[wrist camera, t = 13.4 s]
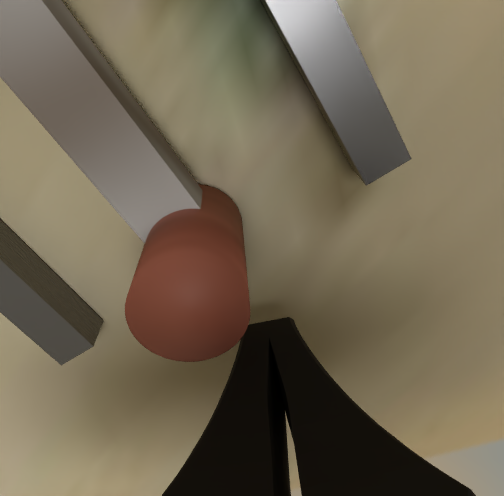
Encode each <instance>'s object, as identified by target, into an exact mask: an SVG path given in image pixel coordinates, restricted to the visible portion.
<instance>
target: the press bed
mask: <svg viewBox="0 0 504 496" xmlns="http://www.w3.org/2000/svg"><path fill="white" fill-rule="evenodd" d="M0 77H1V78H2V79H3V81H4V82H5V83H6V84H7V85H8V86H9V87H10V89H11V90H12V91H13V92H14V93H15V94H16V96H17V97H18V98H19V99H20V100H21V101H22V102H23V104H24V105H25V106H26V107H27V108H28V109H29V111H30V112H31V113H32V114H33V115H34V116H35V117H36V119H37V120H38V121H39V122H40V123H41V124H42V126H43V127H44V128H45V129H46V130H47V131H48V132H49V134H50V135H51V136H52V137H53V138H54V139H55V141H56V142H57V143H58V144H59V145H60V146H61V147H62V149H63V150H64V151H65V152H66V153H67V154H68V156H69V157H70V158H71V159H72V160H73V161H74V163H75V164H76V165H77V166H78V167H79V168H80V169H81V171H82V172H83V173H84V174H85V175H86V176H87V178H88V179H89V180H90V181H91V182H92V183H93V184H94V186H95V187H96V188H97V189H98V190H99V191H100V193H101V194H102V195H103V196H104V197H105V198H106V199H107V201H108V202H109V203H110V204H111V205H112V206H113V208H114V209H115V210H116V211H117V212H118V213H119V214H120V216H121V217H122V218H123V219H124V220H125V221H126V223H127V224H128V225H129V226H130V227H131V228H132V229H133V231H134V232H135V233H136V234H137V235H138V236H139V238H140V239H141V240H142V241H143V242H144V243H145V245H144V248H143V251H142V254H141V257H140V260H139V263H138V266H137V268H136V271H135V274H134V277H133V280H132V283H131V286H130V289H129V292H128V295H127V298H126V303H125V316H126V321H127V324H128V326H129V329H130V331H131V332H132V334H133V335H134V337H135V338H136V339H137V340H138V341H139V343H141V344H142V345H143V346H144V347H145V348H147V349H148V350H150V351H151V352H153V353H155V354H157V355H159V356H162V357H164V358H167V359H171V360H176V361H184V362H195V361H203V360H207V359H211V358H214V357H217V356H219V355H221V354H223V353H225V352H226V351H228V350H230V349H231V348H232V347H233V346H235V345H236V344H237V343H238V341H239V340H240V339H241V338H242V336H243V335H244V333H245V331H246V329H247V327H248V324H249V320H250V301H249V290H248V280H247V269H246V258H245V248H244V237H243V226H242V218H241V215H240V212H239V210H238V208H237V206H236V204H235V203H234V202H233V201H232V199H231V198H229V197H228V196H227V195H226V194H225V193H223V192H222V191H220V190H218V189H215V188H213V187H210V186H206V185H198V184H197V182H196V181H195V180H194V178H193V177H192V176H191V174H190V173H189V171H188V170H187V169H186V167H185V166H184V165H183V163H182V162H181V161H180V159H179V158H178V157H177V155H176V154H175V153H174V151H173V150H172V149H171V147H170V146H169V145H168V143H167V142H166V140H165V139H164V138H163V136H162V135H161V134H160V132H159V131H158V130H157V128H156V127H155V126H154V124H153V123H152V122H151V120H150V119H149V118H148V116H147V115H146V114H145V112H144V111H143V109H142V108H141V107H140V105H139V104H138V103H137V101H136V100H135V99H134V97H133V96H132V95H131V93H130V92H129V91H128V89H127V88H126V87H125V85H124V84H123V83H122V81H121V80H120V78H119V77H118V76H117V74H116V73H115V72H114V70H113V69H112V68H111V66H110V65H109V64H108V62H107V61H106V60H105V58H104V57H103V56H102V54H101V53H100V52H99V50H98V49H97V47H96V46H95V45H94V43H93V42H92V41H91V39H90V38H89V37H88V35H87V34H86V33H85V31H84V30H83V29H82V27H81V26H80V25H79V23H78V22H77V20H76V19H75V18H74V16H73V15H72V14H71V12H70V11H69V10H68V8H67V7H66V6H65V4H64V3H63V2H62V0H0Z"/></svg>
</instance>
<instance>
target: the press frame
mask: <svg viewBox="0 0 504 496" xmlns="http://www.w3.org/2000/svg"><path fill="white" fill-rule="evenodd" d="M260 1H261V3H262V4H263V6H264V8H265V10H266V12H267V14H268V15H269V17H270V19H271V21H272V23H273V25H274V26H275V28H276V30H277V32H278V34H279V35H280V37H281V39H282V41H283V43H284V45H285V46H286V48H287V50H288V52H289V54H290V56H291V57H292V59H293V61H294V63H295V65H296V66H297V68H298V70H299V72H300V74H301V76H302V77H303V79H304V81H305V83H306V85H307V87H308V88H309V90H310V92H311V94H312V96H313V98H314V99H315V101H316V103H317V105H318V107H319V108H320V110H321V112H322V114H323V116H324V118H325V119H326V121H327V123H328V125H329V127H330V129H331V130H332V132H333V134H334V136H335V138H336V139H337V141H338V143H339V145H340V147H341V149H342V150H343V152H344V154H345V156H346V158H347V160H348V161H349V163H350V165H351V167H352V169H353V170H354V172H355V173H356V174H357V175H358V176H359V178H360V179H361V180H362V181H363V182H364V184H365V185H368V184H370V183H371V182H373V181H375V180H377V179H378V178H380V177H382V176H383V175H385V174H387V173H388V172H390V171H392V170H393V169H395V168H397V167H399V166H400V165H402V164H404V163H405V162H407V161H409V160H410V159H411V157H410V155H409V153H408V150H407V148H406V146H405V144H404V142H403V140H402V138H401V136H400V134H399V131H398V129H397V127H396V125H395V123H394V121H393V119H392V117H391V115H390V112H389V110H388V108H387V106H386V104H385V102H384V100H383V98H382V96H381V93H380V91H379V89H378V87H377V85H376V83H375V81H374V79H373V77H372V74H371V72H370V70H369V68H368V66H367V64H366V62H365V60H364V58H363V55H362V53H361V51H360V49H359V47H358V45H357V43H356V41H355V39H354V36H353V34H352V32H351V30H350V28H349V26H348V24H347V22H346V20H345V17H344V15H343V13H342V11H341V9H340V7H339V5H338V3H337V1H336V0H260ZM0 313H2V314H3V315H4V316H5V317H6V318H7V319H9V320H10V321H11V322H12V323H13V324H14V325H15V326H17V327H18V328H19V329H20V330H21V331H22V332H24V333H25V334H26V335H27V336H28V337H29V338H30V339H32V340H33V341H34V342H35V343H36V344H37V345H39V346H40V347H41V348H42V349H43V350H44V351H45V352H47V353H48V354H49V355H50V356H51V357H52V358H54V359H55V360H56V361H57V362H58V363H59V364H60V365H63V364H64V363H66V362H68V361H69V360H71V359H73V358H74V357H76V356H78V355H80V354H81V353H83V352H85V351H86V350H88V349H90V348H91V347H93V346H94V343H95V341H96V338H97V336H98V333H99V331H100V328H101V325H102V323H103V320H102V319H101V318H100V317H99V316H98V315H97V314H96V313H95V312H94V311H93V310H92V309H91V308H90V307H89V306H88V305H87V304H86V303H85V302H84V301H83V300H82V299H81V298H80V297H79V296H78V295H77V294H76V293H75V292H74V291H73V290H72V289H71V288H70V287H69V286H68V285H67V284H66V283H65V282H64V281H63V280H62V279H61V278H60V277H59V276H58V275H56V274H55V273H54V272H53V271H52V270H51V269H50V268H49V267H48V266H47V265H46V264H45V263H44V262H43V261H42V260H41V259H40V258H39V257H38V256H37V255H36V254H35V253H34V252H33V251H32V250H31V249H30V248H29V247H28V246H27V245H26V244H25V243H24V242H23V241H22V240H21V239H20V238H19V237H18V236H17V235H16V234H15V233H14V232H13V231H12V230H11V229H10V228H9V227H8V226H7V225H6V224H5V223H3V222H2V221H1V220H0Z"/></svg>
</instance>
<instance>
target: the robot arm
mask: <svg viewBox="0 0 504 496" xmlns="http://www.w3.org/2000/svg"><path fill="white" fill-rule="evenodd" d="M285 412H286V415H287V419H288V423H289V426H290V430H291V434H292V438H293V441H294V446H295V452H296V459H297V466H298V472H299V479H300V486H301V493H302V496H476V495H475V494H474V493H473V492H472V490H471V489H469V488H468V487H466V486H464V485H463V484H461V483H460V482H458V481H456V480H455V479H453V478H452V477H450V476H448V475H447V474H445V473H444V472H442V471H441V470H439V469H438V468H436V467H435V466H433V465H431V464H430V463H429V462H427V461H426V460H424V459H423V458H422V457H420V456H419V455H417V454H416V453H414V452H413V451H412V450H410V449H409V448H408V447H406V446H405V445H404V444H403V443H401V442H400V441H399V440H397V439H396V438H395V437H394V436H392V435H391V434H390V433H389V432H387V431H386V430H385V429H384V428H382V427H381V426H380V425H379V424H378V423H376V422H375V421H374V420H373V419H372V418H371V417H370V416H369V415H368V414H366V413H365V412H364V411H363V410H362V409H361V408H360V407H359V406H358V405H357V404H356V403H355V402H354V401H353V400H352V399H351V398H350V397H349V396H348V395H347V394H346V393H345V392H344V391H343V390H342V389H341V388H340V386H339V385H338V384H337V383H336V382H335V381H334V380H333V379H332V377H331V376H330V375H329V374H328V373H327V371H326V370H325V369H324V368H323V366H322V365H321V364H320V362H319V361H318V360H317V359H316V357H315V356H314V355H313V353H312V352H311V350H310V349H309V347H308V346H307V344H306V343H305V341H304V340H303V338H302V336H301V335H300V333H299V331H298V329H297V327H296V325H295V323H294V320H293V319H291V318H290V317H287V318H282V319H276V320H271V321H266V322H261V323H255V324H250V325H248V327H247V329H246V331H245V333H244V335H243V336H242V338H241V341H240V345H239V349H238V352H237V355H236V359H235V362H234V365H233V367H232V370H231V373H230V376H229V379H228V381H227V384H226V386H225V389H224V391H223V393H222V395H221V398H220V400H219V402H218V405H217V407H216V409H215V411H214V413H213V415H212V417H211V419H210V421H209V423H208V425H207V427H206V429H205V430H204V432H203V434H202V436H201V438H200V439H199V441H198V443H197V444H196V446H195V448H194V449H193V451H192V453H191V454H190V456H189V457H188V459H187V461H186V462H185V464H184V465H183V467H182V468H181V470H180V471H179V473H178V474H177V476H176V477H175V478H174V480H173V481H172V482H171V484H170V485H169V486H168V488H167V489H166V490H165V492H164V493H163V494H162V496H291V492H290V479H289V463H288V448H287V433H286V418H285Z"/></svg>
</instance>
